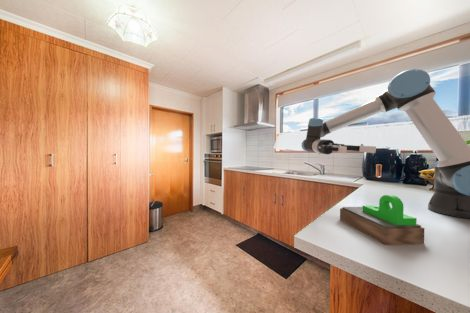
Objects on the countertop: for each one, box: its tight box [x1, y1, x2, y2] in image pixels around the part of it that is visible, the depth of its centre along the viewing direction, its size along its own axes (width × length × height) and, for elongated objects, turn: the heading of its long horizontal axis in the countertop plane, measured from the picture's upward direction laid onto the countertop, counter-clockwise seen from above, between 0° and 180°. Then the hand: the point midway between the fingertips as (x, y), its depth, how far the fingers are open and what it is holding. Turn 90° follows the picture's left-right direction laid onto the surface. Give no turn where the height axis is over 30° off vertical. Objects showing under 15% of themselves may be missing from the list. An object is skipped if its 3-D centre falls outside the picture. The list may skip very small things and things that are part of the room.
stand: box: [339, 206, 425, 246], centre depth 55 cm, size 12×18×5 cm, turn 4°
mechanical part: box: [362, 194, 418, 225], centre depth 53 cm, size 12×6×8 cm, turn 2°
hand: (360, 149), depth 65 cm, fingers open, 13 cm apart
